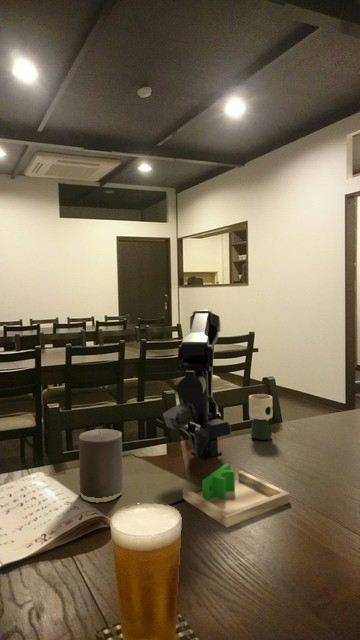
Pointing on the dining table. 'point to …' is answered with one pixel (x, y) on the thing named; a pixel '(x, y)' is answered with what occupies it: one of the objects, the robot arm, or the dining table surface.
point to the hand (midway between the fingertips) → (198, 456)
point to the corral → (240, 500)
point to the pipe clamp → (218, 483)
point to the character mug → (260, 415)
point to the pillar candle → (100, 463)
